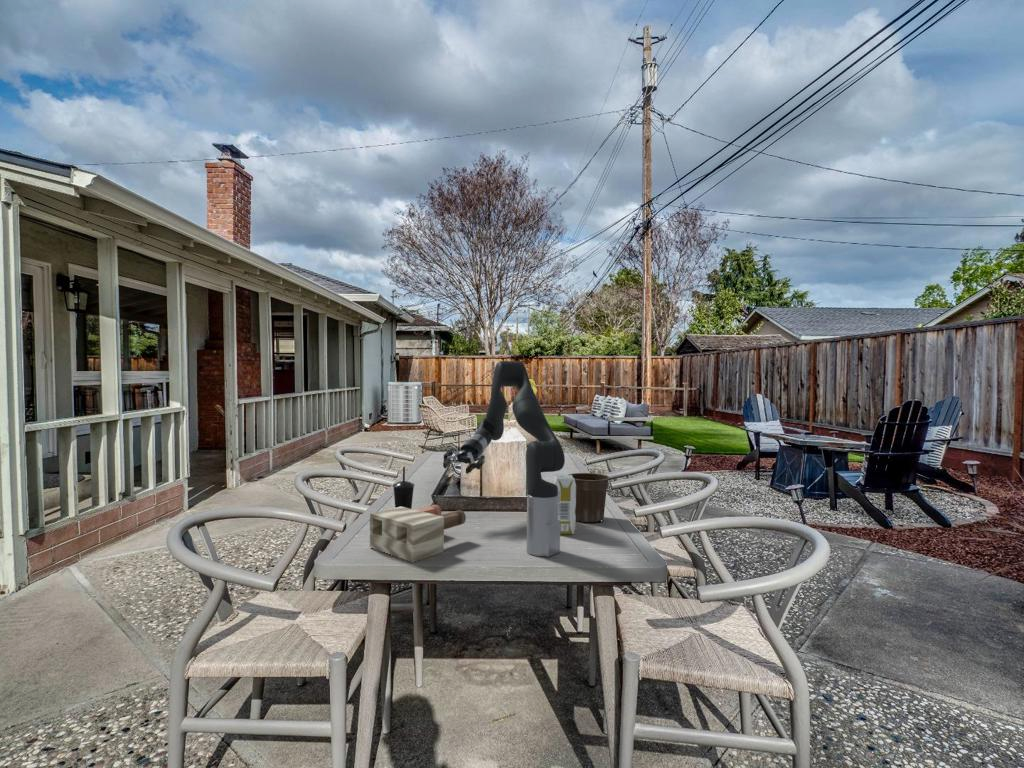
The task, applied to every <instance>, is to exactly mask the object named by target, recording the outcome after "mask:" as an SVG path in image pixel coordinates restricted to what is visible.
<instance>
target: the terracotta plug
mask: <svg viewBox="0 0 1024 768" xmlns="http://www.w3.org/2000/svg"><path fill="white" fill-rule="evenodd" d="M416 510H418V511H422V512H426V513H430V514H435V515H439V516H440V515H442V508H441V507H440V505H438V504H432V505H430V506H426V507H425V506H424V507H422V508H418V509H416Z"/></svg>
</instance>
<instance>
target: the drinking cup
mask: <svg viewBox="0 0 1024 768" xmlns="http://www.w3.org/2000/svg"><path fill="white" fill-rule="evenodd" d="M405 473H406V467H405V466H403V467H402V481H400V480H399V481H398V482H396V483H393V485H392V488H393V497H394V508H396V507H406V508H410V509H412V505H413V497H414V489H415V485H416V484H415V483H414V482H413V483H412V482H410V481H407V480H405V479H406V477H405V476H406V474H405Z"/></svg>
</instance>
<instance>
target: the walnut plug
mask: <svg viewBox="0 0 1024 768" xmlns="http://www.w3.org/2000/svg"><path fill="white" fill-rule="evenodd" d="M440 516H443V517H444V531H445V530H448V529H451V528H454V527H457V526H461V525H464V524H465V522H466V521H467V520H466V517H467V516H466V513H465V512H464V511H463V510H462V509H458V510H454V511H450V512H448V513H444V514H441V515H440Z"/></svg>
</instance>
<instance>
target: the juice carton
mask: <svg viewBox="0 0 1024 768" xmlns="http://www.w3.org/2000/svg"><path fill="white" fill-rule="evenodd" d="M552 483H553V484H555V485H557V487H558V517H557V520H560V535H565V534H573V535H574V534H575V530H576V521H577V520H576V483H575V479H574V478H573V477H572V475H568V474H554V475H553V480H552Z"/></svg>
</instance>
